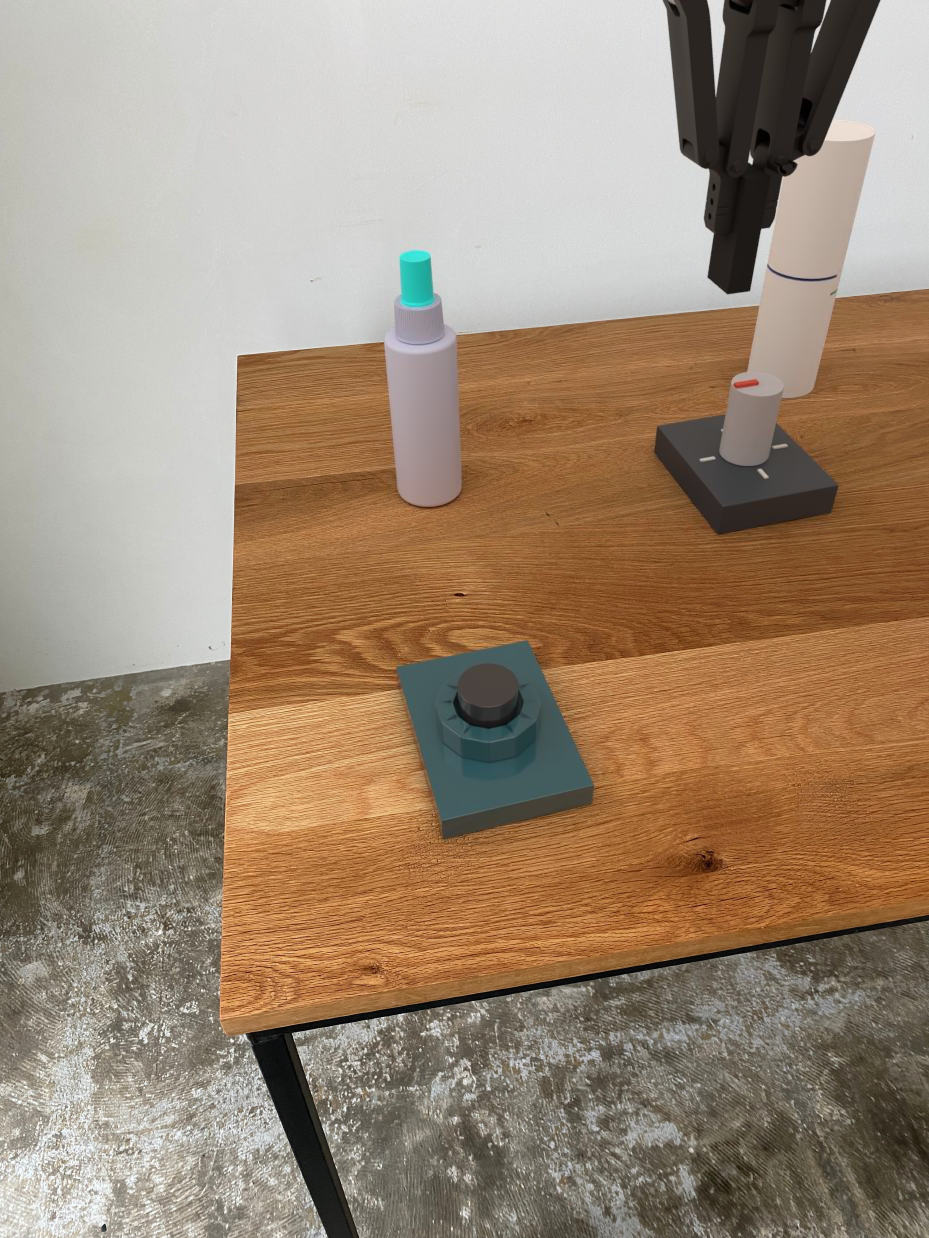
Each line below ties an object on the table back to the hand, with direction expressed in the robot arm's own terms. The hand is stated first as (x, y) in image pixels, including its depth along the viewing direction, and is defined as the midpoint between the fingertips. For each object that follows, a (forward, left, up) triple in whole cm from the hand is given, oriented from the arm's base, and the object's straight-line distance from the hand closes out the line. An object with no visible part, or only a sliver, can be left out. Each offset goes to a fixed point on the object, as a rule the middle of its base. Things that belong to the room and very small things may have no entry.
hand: (728, 284), depth 57 cm
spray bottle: (+22, +15, -27) cm, 38 cm away
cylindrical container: (+31, -26, -27) cm, 48 cm away
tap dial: (+15, -13, -23) cm, 31 cm away
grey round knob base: (-9, +18, -26) cm, 33 cm away
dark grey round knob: (-9, +18, -23) cm, 30 cm away
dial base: (+15, -13, -26) cm, 33 cm away
